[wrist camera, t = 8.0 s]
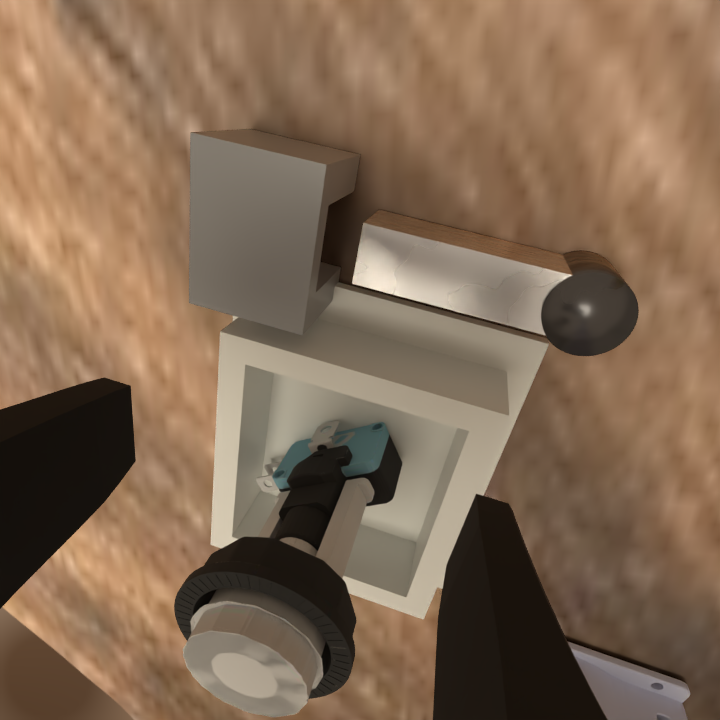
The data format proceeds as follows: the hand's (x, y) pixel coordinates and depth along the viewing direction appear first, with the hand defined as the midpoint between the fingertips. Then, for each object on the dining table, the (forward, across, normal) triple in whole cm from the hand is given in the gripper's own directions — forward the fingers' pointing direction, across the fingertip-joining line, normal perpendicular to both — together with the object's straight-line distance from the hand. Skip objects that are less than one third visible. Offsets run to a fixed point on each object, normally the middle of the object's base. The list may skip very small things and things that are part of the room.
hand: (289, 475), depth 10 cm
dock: (+10, 0, +4) cm, 11 cm away
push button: (+10, +1, +7) cm, 12 cm away
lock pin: (+10, -3, -2) cm, 11 cm away
